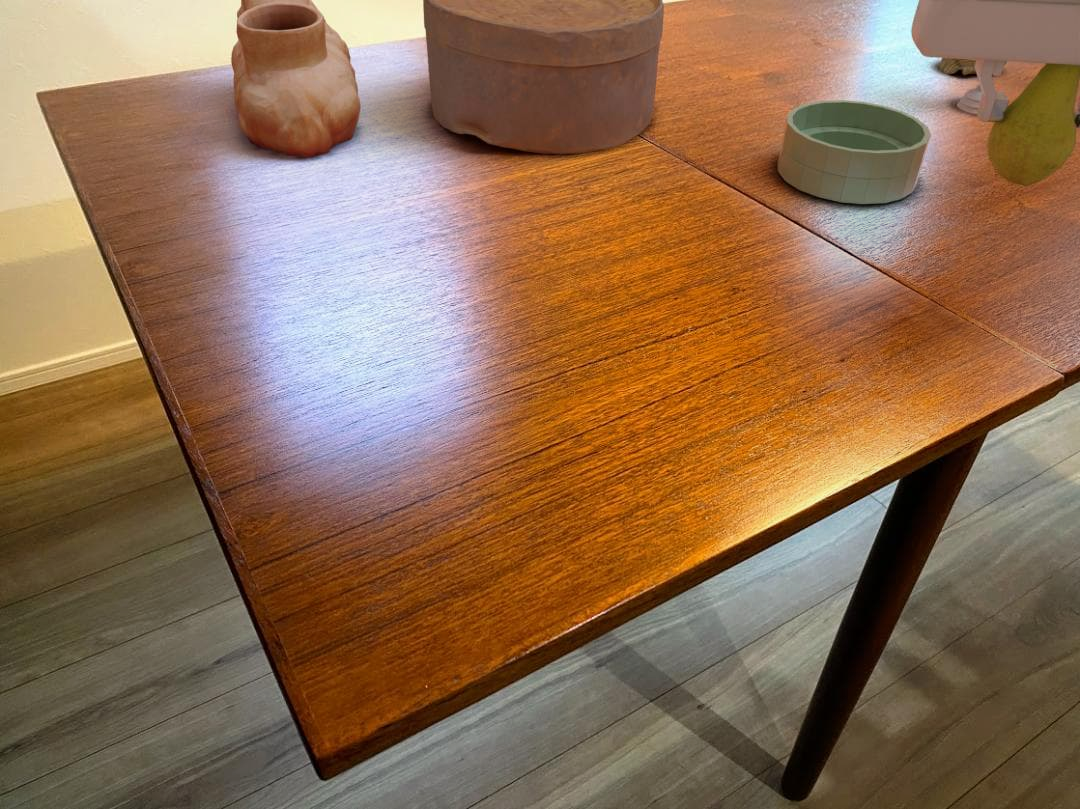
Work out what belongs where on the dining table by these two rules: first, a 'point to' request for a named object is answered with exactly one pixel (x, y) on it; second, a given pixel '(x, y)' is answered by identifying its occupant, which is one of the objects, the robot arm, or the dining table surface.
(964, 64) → the seashell
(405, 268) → the dining table surface
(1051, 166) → the fruit
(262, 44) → the ceramic vessel
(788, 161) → the bowl
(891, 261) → the dining table surface
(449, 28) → the container
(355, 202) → the dining table surface
